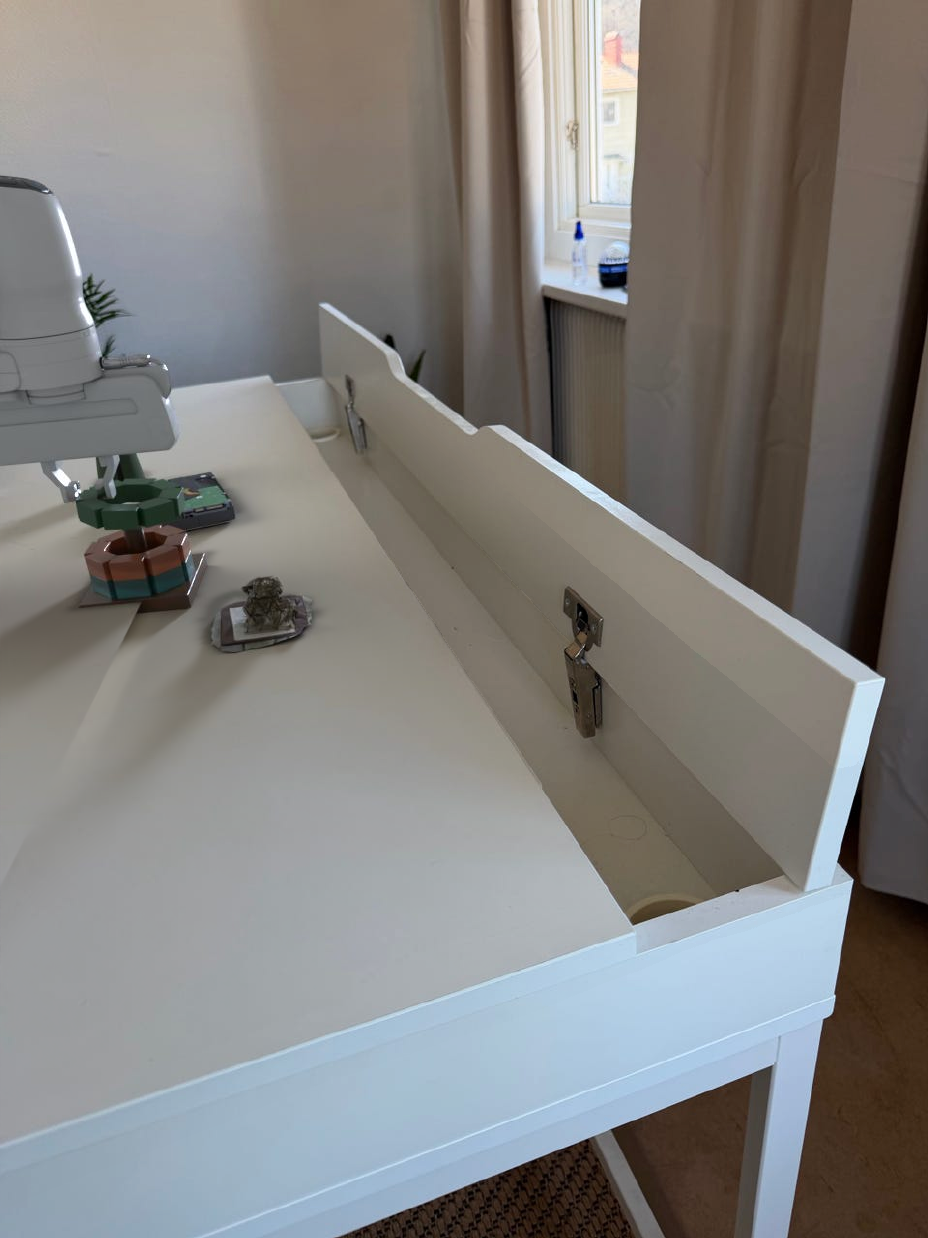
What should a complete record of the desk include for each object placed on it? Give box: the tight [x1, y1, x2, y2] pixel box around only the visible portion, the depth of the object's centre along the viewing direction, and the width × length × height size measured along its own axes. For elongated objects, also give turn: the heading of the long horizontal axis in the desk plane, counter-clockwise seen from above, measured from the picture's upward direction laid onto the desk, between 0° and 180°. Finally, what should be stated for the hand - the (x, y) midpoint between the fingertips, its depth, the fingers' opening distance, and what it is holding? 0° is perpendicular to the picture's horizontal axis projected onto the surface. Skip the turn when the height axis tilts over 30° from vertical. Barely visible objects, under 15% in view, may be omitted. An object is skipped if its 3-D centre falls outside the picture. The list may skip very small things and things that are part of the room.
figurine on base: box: [210, 575, 313, 653], centre depth 92 cm, size 12×6×11 cm
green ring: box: [75, 477, 185, 531], centre depth 97 cm, size 10×10×2 cm
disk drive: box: [139, 471, 236, 532], centre depth 122 cm, size 10×3×15 cm
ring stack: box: [78, 525, 208, 614], centre depth 99 cm, size 11×11×9 cm
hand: (90, 499), depth 96 cm, fingers closed on green ring, 2 cm apart
